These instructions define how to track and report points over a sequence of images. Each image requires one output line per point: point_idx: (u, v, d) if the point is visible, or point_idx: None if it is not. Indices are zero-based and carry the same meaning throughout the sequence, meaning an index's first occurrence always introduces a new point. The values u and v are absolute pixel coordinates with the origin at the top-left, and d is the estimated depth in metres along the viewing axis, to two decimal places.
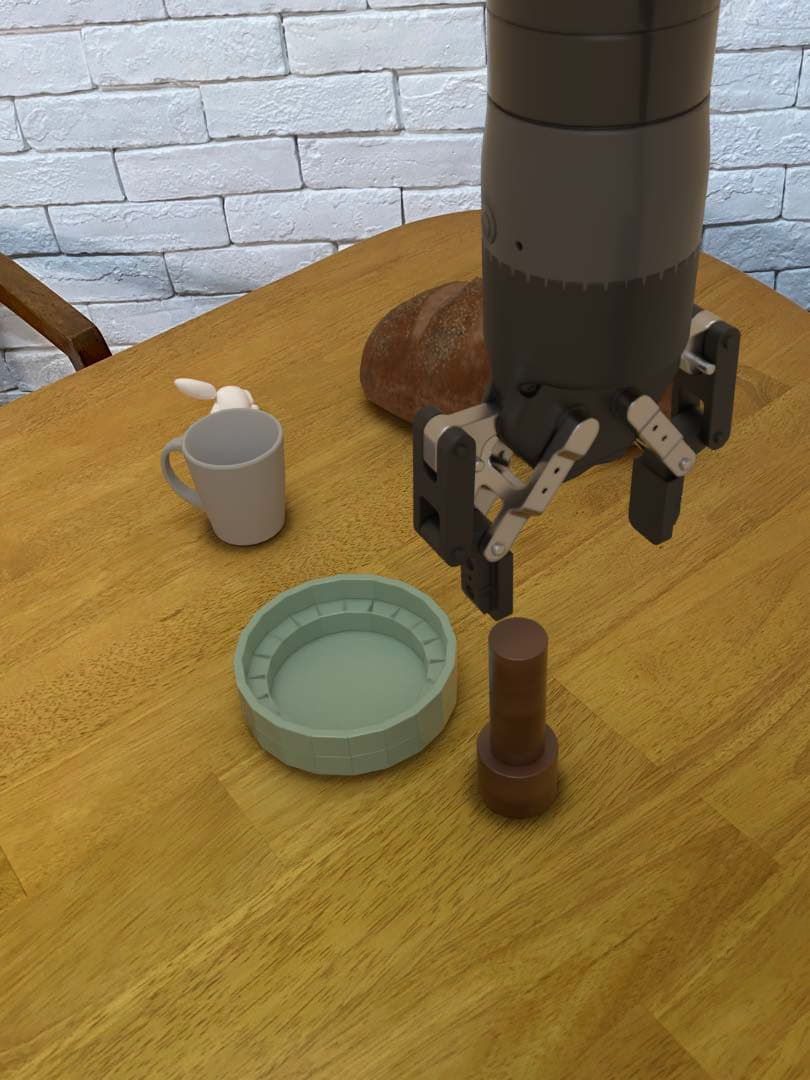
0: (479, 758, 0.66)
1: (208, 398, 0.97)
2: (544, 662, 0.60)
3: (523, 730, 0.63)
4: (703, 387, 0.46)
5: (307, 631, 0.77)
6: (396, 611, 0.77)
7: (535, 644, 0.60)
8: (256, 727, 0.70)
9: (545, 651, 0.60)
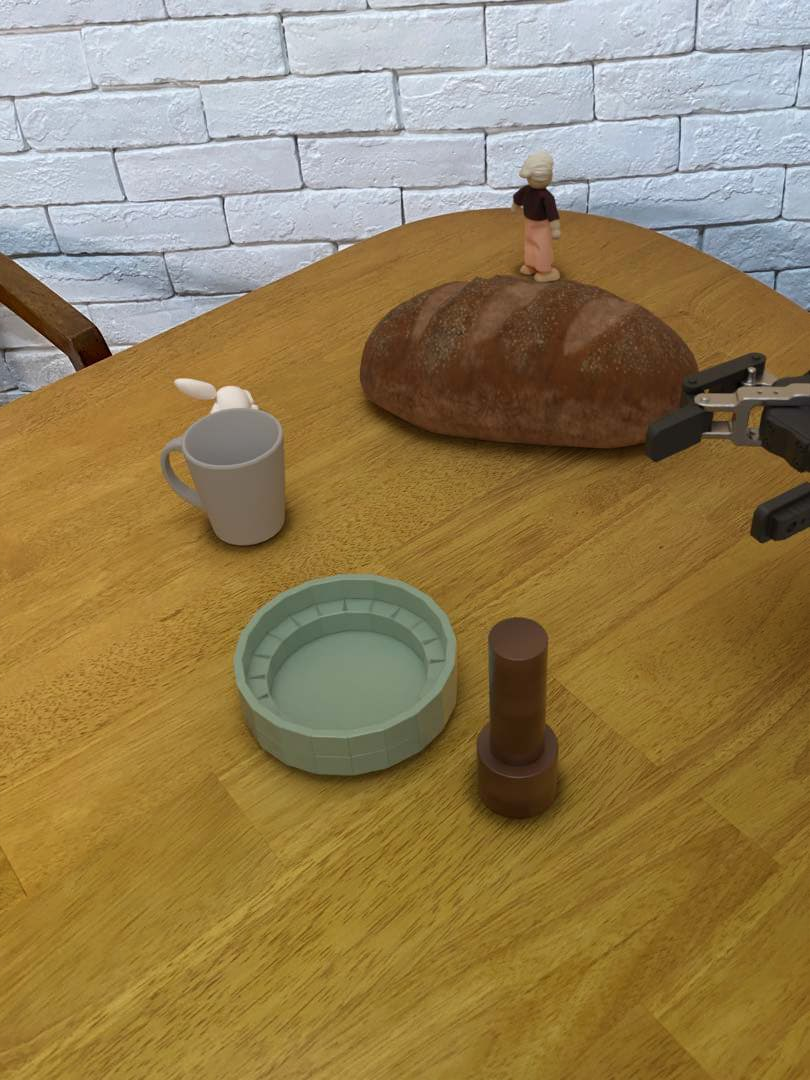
0: (479, 758, 0.66)
1: (208, 398, 0.97)
2: (544, 662, 0.60)
3: (523, 730, 0.63)
4: None
5: (307, 631, 0.77)
6: (396, 611, 0.77)
7: (535, 644, 0.60)
8: (256, 727, 0.70)
9: (545, 651, 0.60)
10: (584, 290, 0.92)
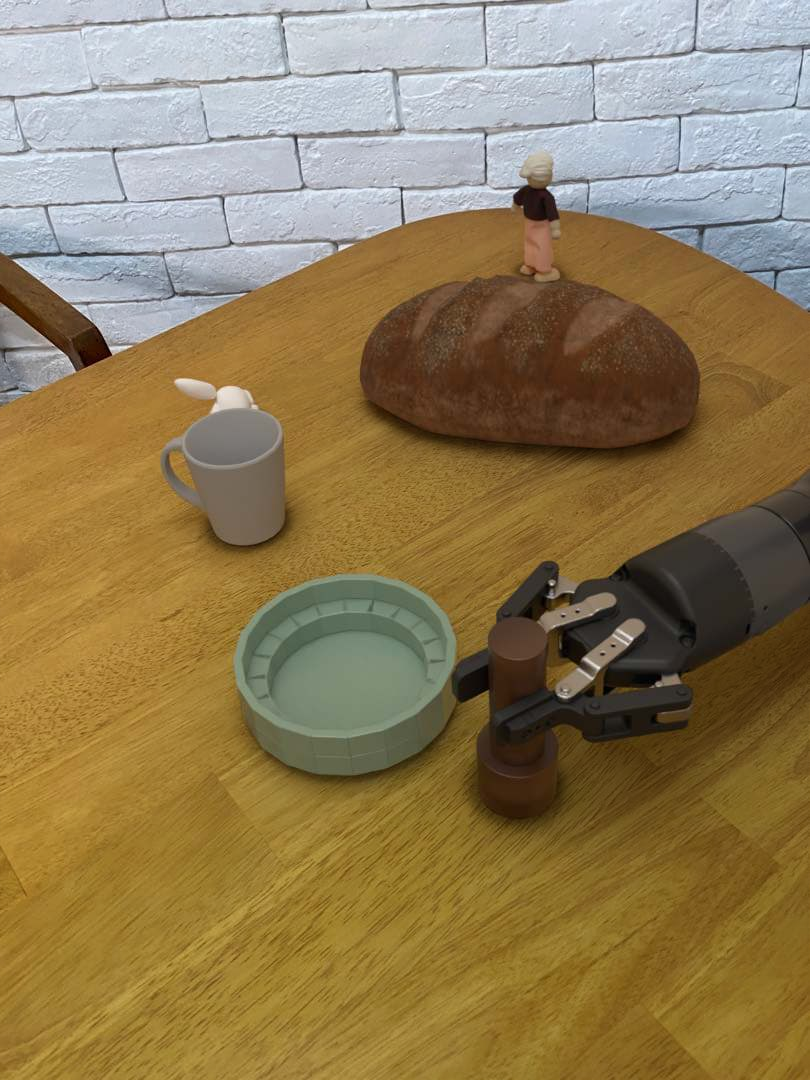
0: (479, 758, 0.66)
1: (208, 398, 0.97)
2: (544, 662, 0.60)
3: None
4: None
5: (307, 631, 0.77)
6: (396, 611, 0.77)
7: (534, 644, 0.60)
8: (256, 727, 0.70)
9: (545, 651, 0.60)
10: (584, 290, 0.92)
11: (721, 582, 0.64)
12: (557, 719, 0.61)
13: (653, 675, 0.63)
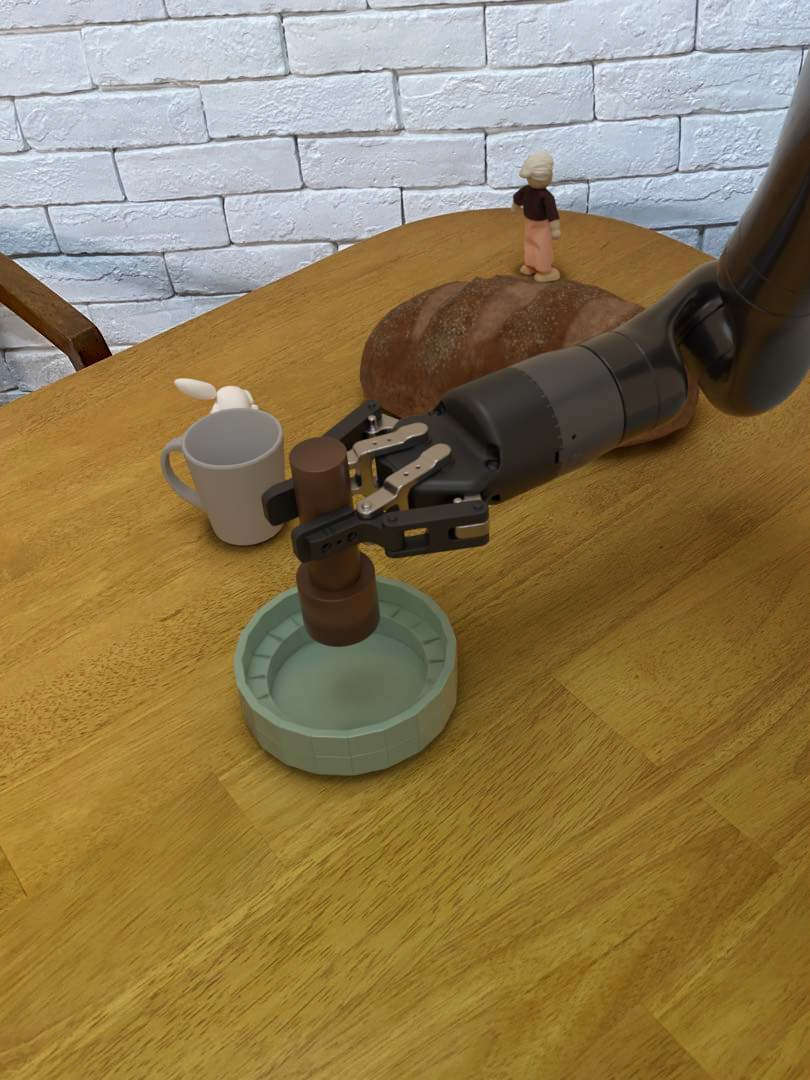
0: (297, 585, 0.68)
1: (208, 398, 0.97)
2: (343, 477, 0.62)
3: None
4: None
5: None
6: (396, 611, 0.77)
7: (332, 458, 0.62)
8: (256, 727, 0.70)
9: (342, 465, 0.62)
10: (584, 290, 0.92)
11: (527, 408, 0.65)
12: (359, 536, 0.63)
13: None
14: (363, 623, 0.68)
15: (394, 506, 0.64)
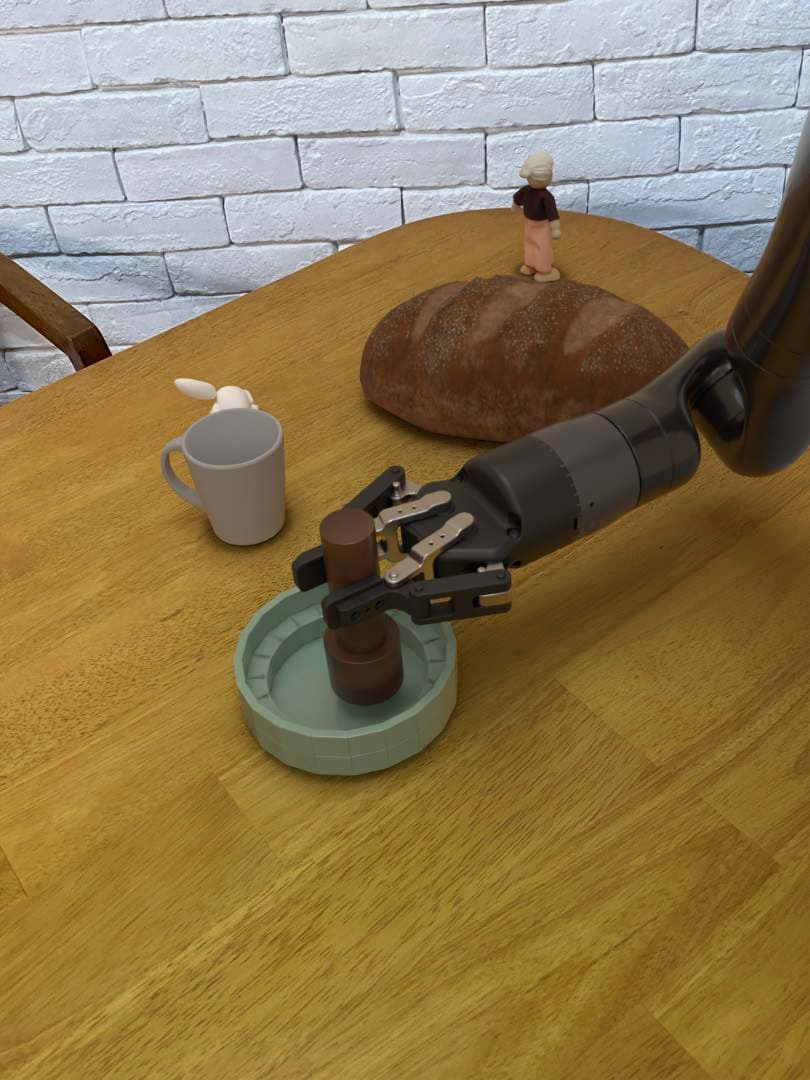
0: (325, 647, 0.70)
1: (208, 398, 0.97)
2: (371, 548, 0.64)
3: None
4: None
5: (307, 631, 0.77)
6: None
7: (361, 531, 0.64)
8: (256, 727, 0.70)
9: (371, 537, 0.64)
10: (584, 290, 0.92)
11: (547, 478, 0.68)
12: (387, 603, 0.65)
13: (482, 565, 0.68)
14: (388, 683, 0.71)
15: (419, 574, 0.67)
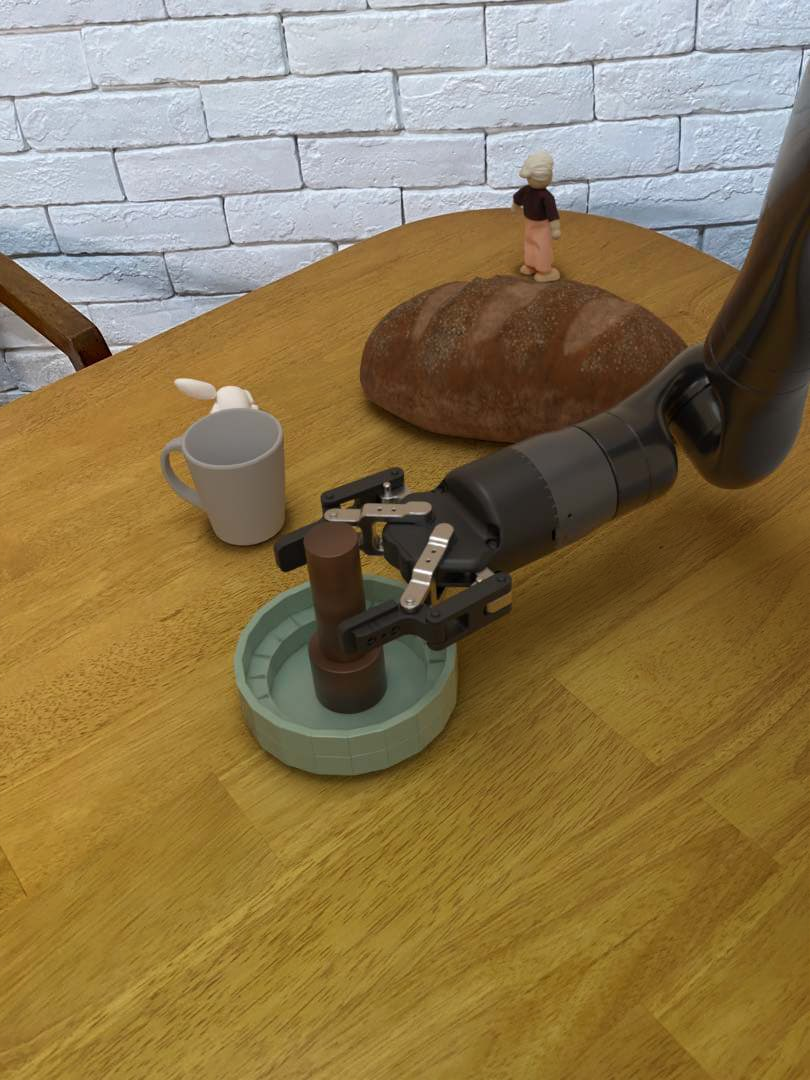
0: (309, 657, 0.72)
1: (208, 398, 0.97)
2: (354, 561, 0.66)
3: None
4: None
5: (307, 631, 0.77)
6: None
7: (344, 544, 0.66)
8: (256, 727, 0.70)
9: (354, 550, 0.66)
10: (584, 290, 0.92)
11: (525, 490, 0.69)
12: (402, 629, 0.66)
13: (461, 575, 0.69)
14: (371, 692, 0.72)
15: None
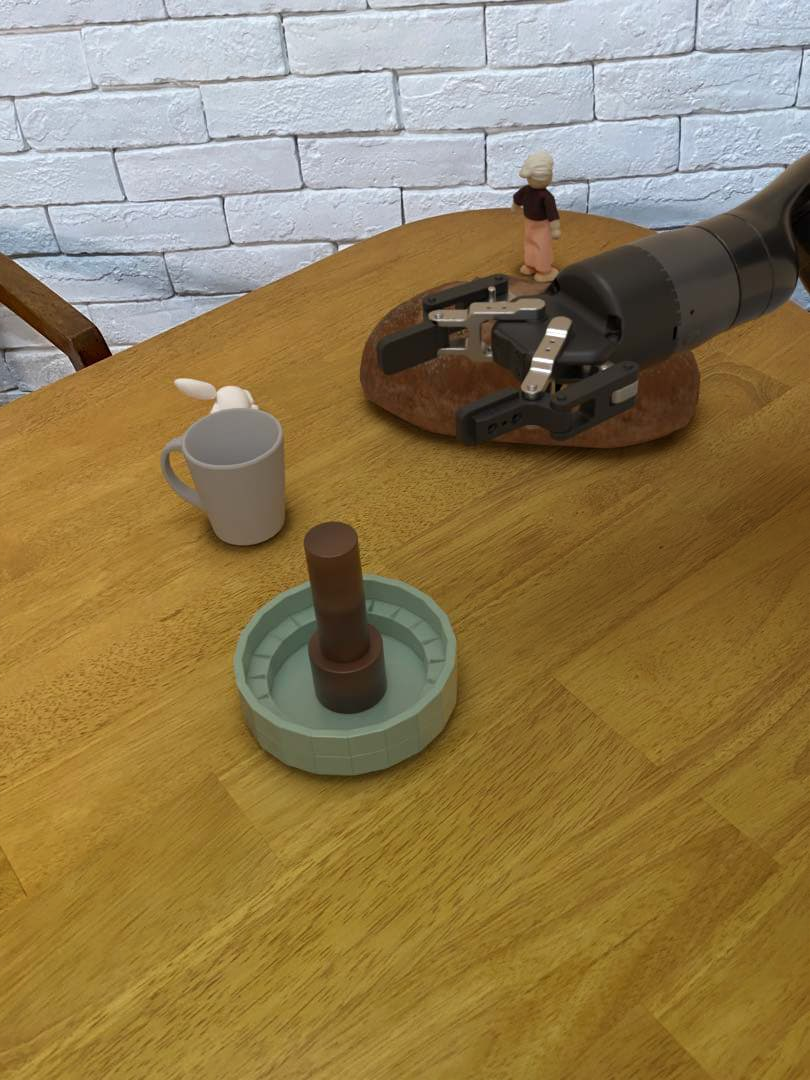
0: (309, 657, 0.72)
1: (208, 398, 0.97)
2: (354, 561, 0.66)
3: (342, 627, 0.69)
4: None
5: (307, 631, 0.77)
6: (396, 611, 0.77)
7: (344, 544, 0.66)
8: (256, 727, 0.70)
9: (354, 550, 0.66)
10: None
11: (647, 281, 0.65)
12: (523, 418, 0.61)
13: (580, 371, 0.65)
14: (371, 692, 0.72)
15: None
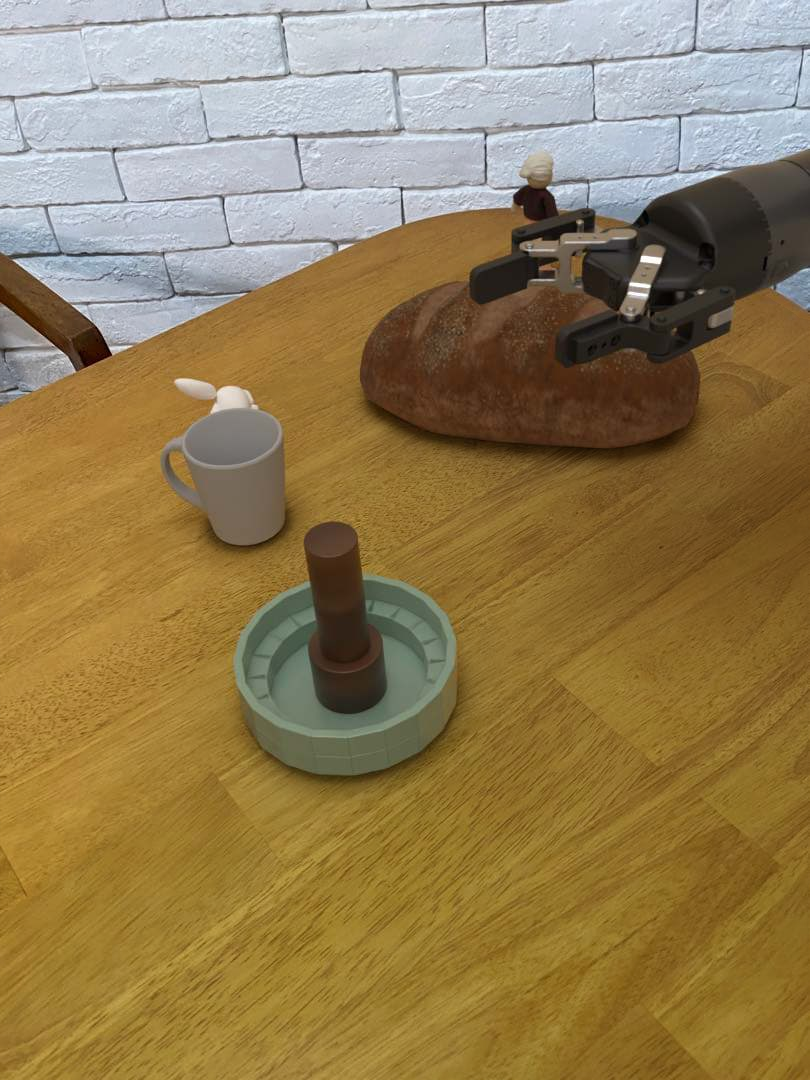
0: (309, 657, 0.72)
1: (208, 398, 0.97)
2: (354, 561, 0.66)
3: (342, 627, 0.69)
4: None
5: (307, 631, 0.77)
6: (396, 611, 0.77)
7: (344, 544, 0.66)
8: (256, 727, 0.70)
9: (354, 550, 0.66)
10: None
11: (739, 210, 0.66)
12: (622, 340, 0.62)
13: (673, 298, 0.65)
14: (371, 692, 0.72)
15: None
